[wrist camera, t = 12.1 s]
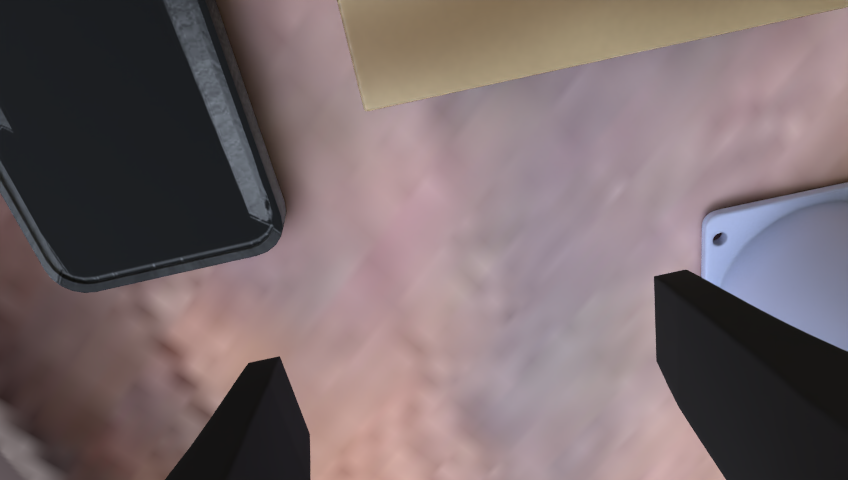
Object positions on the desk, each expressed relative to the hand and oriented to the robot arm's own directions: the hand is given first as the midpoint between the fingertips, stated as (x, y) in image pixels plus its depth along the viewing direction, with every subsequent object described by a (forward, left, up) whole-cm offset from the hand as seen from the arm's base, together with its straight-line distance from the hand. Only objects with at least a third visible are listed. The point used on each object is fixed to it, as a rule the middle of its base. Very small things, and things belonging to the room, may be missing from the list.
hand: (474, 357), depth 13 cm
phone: (+6, +9, -10) cm, 15 cm away
